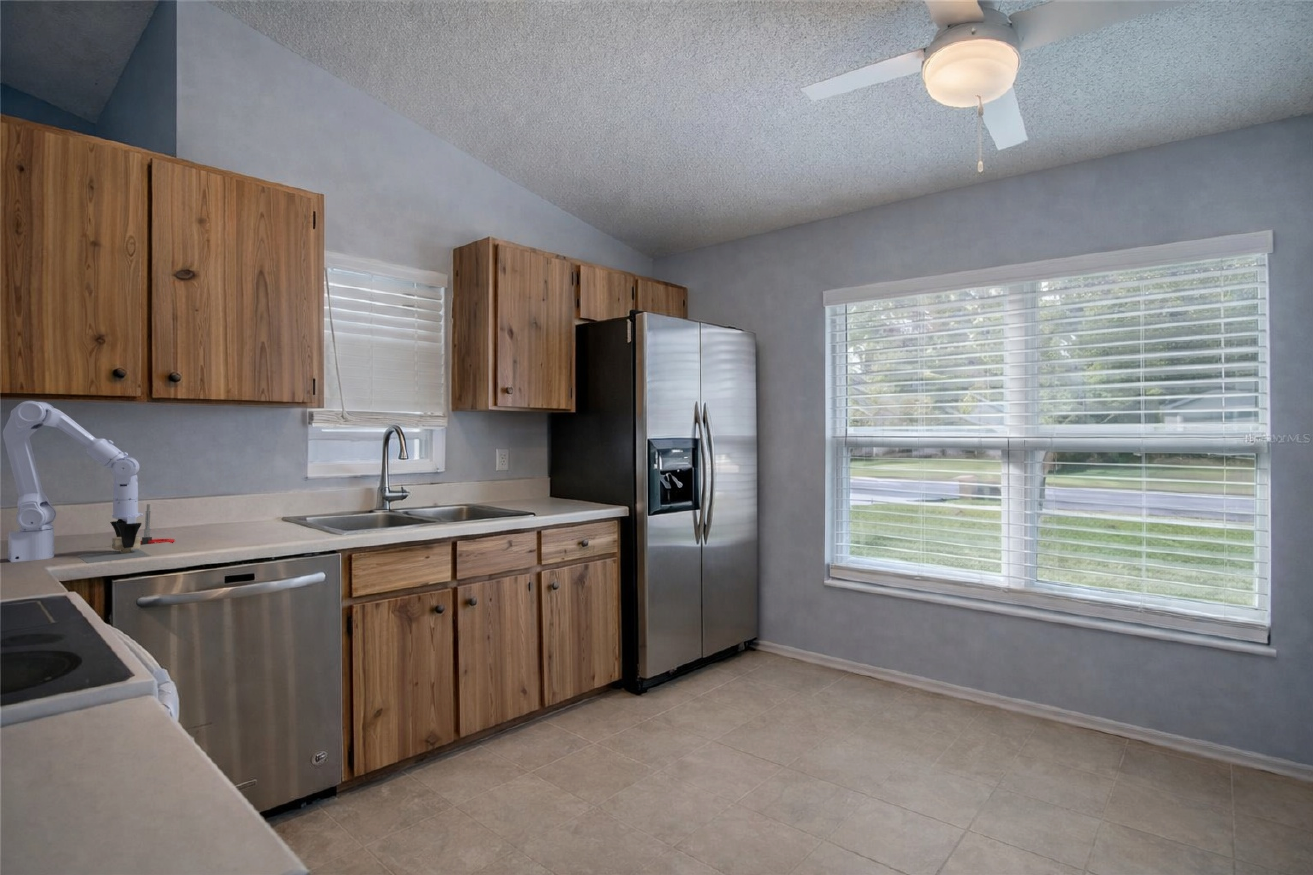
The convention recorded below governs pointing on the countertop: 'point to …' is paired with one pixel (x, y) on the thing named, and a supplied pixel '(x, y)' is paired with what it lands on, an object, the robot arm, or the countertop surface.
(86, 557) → the post mat
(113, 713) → the countertop surface
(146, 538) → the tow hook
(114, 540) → the collar
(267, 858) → the countertop surface
